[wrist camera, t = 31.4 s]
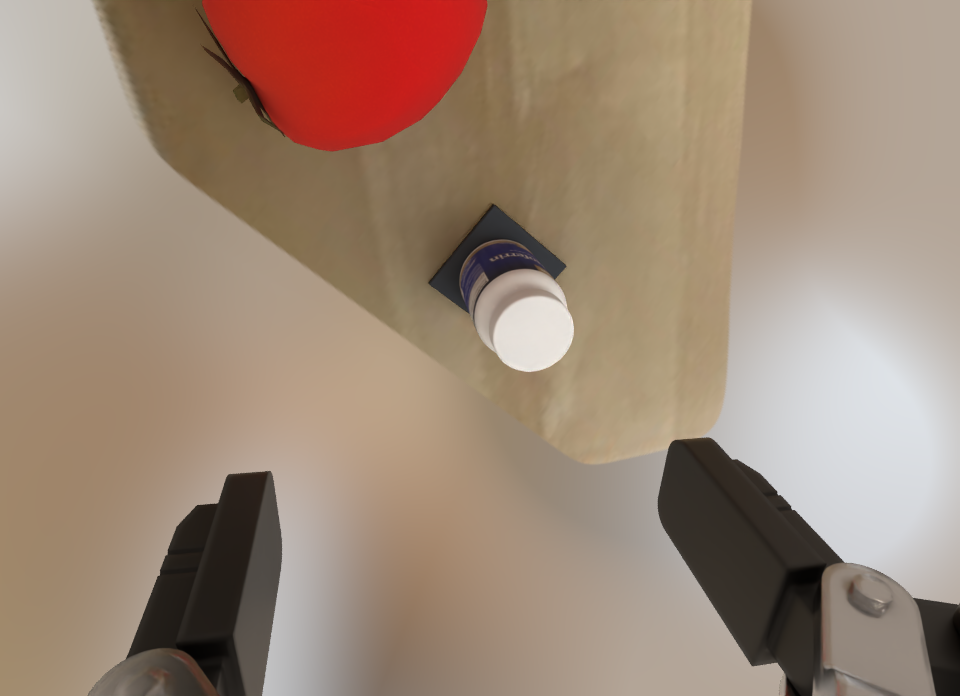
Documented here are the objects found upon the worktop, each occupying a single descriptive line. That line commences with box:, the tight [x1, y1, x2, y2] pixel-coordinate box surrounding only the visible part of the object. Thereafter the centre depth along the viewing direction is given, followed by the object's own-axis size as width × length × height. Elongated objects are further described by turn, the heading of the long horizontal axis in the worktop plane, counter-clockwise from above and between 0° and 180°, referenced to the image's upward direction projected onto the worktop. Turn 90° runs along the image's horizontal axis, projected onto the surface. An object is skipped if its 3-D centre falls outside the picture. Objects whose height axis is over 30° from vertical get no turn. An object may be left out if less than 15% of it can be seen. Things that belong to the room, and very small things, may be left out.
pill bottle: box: [460, 240, 574, 372], centre depth 38 cm, size 6×6×10 cm
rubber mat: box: [429, 204, 566, 313], centre depth 42 cm, size 7×7×1 cm
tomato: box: [193, 0, 487, 151], centre depth 29 cm, size 13×13×13 cm
